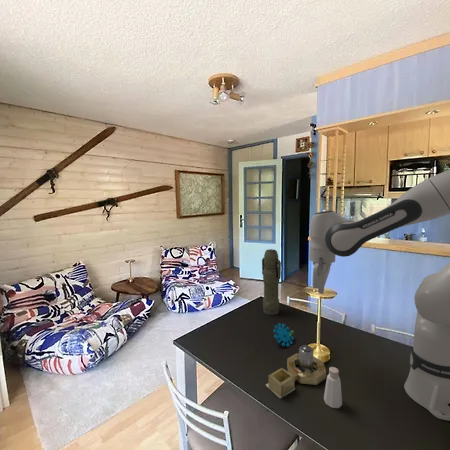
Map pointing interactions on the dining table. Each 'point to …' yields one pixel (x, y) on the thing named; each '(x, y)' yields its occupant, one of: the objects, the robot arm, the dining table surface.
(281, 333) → the gear
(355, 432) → the dining table surface
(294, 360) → the octagonal ring with loop
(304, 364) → the stud
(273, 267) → the thermos
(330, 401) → the salt shaker
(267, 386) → the pad
